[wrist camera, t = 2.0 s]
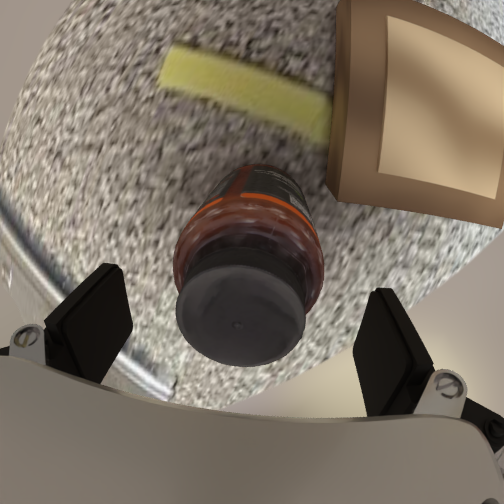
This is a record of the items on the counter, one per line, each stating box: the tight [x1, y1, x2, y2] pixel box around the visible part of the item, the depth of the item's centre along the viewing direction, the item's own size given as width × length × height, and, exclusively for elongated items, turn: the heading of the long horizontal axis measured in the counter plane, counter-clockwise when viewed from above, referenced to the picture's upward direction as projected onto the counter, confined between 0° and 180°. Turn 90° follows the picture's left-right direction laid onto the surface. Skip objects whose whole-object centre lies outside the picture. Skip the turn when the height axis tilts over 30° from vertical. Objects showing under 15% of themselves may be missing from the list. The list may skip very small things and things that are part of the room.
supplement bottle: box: [173, 164, 324, 367], centre depth 13 cm, size 6×6×11 cm
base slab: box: [325, 0, 504, 229], centre depth 12 cm, size 12×12×4 cm
